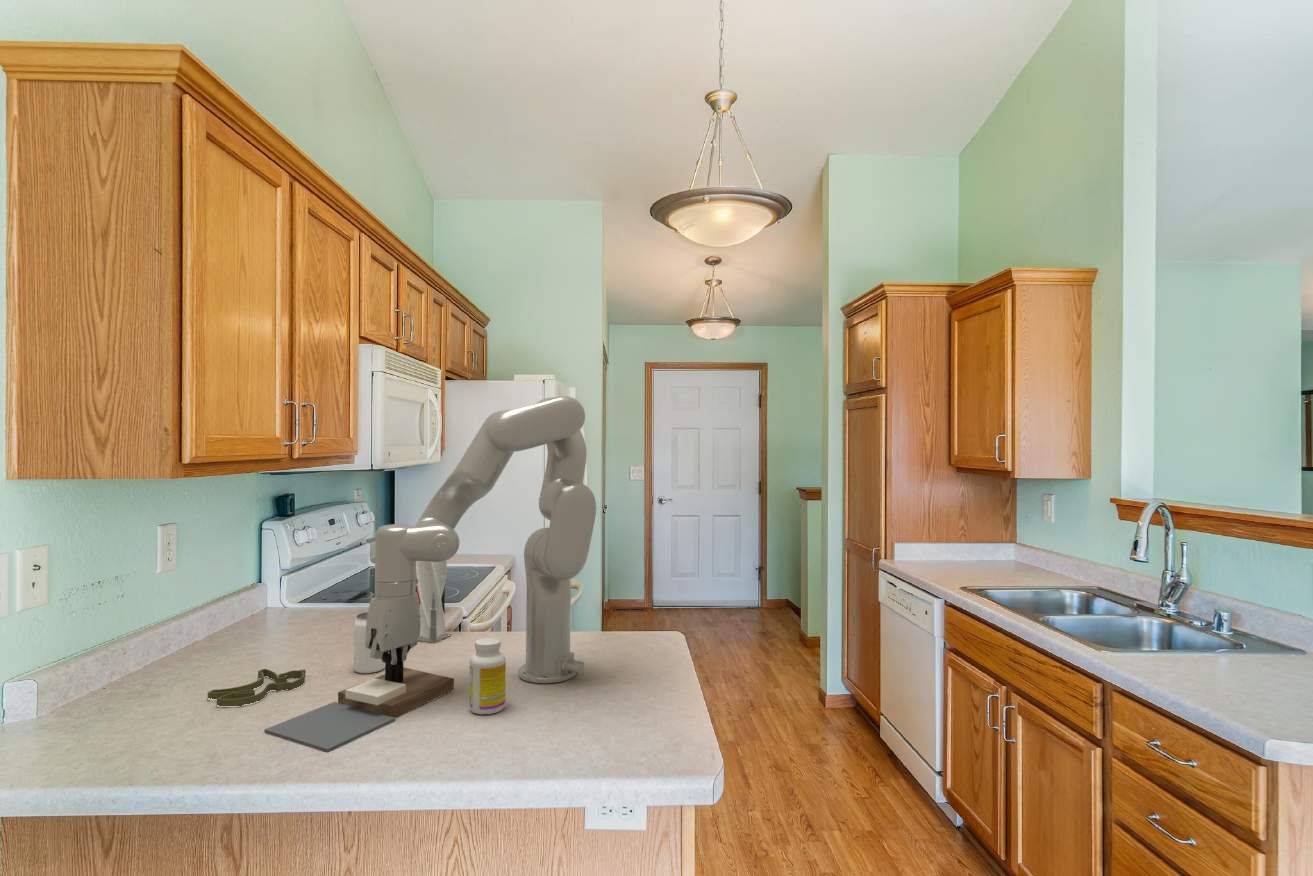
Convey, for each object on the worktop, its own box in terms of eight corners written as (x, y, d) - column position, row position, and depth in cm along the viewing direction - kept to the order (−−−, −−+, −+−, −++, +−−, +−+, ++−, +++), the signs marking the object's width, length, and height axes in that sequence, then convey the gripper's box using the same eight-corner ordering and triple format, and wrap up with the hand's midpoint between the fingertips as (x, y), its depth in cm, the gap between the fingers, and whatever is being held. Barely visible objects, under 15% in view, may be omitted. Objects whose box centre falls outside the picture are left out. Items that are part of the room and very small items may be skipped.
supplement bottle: (512, 706, 131) (513, 639, 131) (487, 718, 125) (488, 648, 125) (486, 699, 134) (487, 634, 134) (461, 711, 129) (462, 642, 129)
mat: (395, 720, 124) (395, 717, 124) (327, 752, 111) (327, 749, 111) (334, 704, 131) (334, 701, 131) (264, 732, 118) (264, 729, 118)
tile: (406, 692, 131) (406, 684, 131) (377, 705, 124) (377, 696, 124) (374, 685, 134) (374, 678, 134) (345, 698, 128) (345, 690, 128)
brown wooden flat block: (453, 690, 139) (453, 678, 139) (391, 719, 124) (391, 705, 124) (403, 679, 145) (403, 667, 145) (338, 705, 130) (338, 692, 130)
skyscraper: (405, 640, 172) (407, 528, 172) (426, 631, 180) (427, 525, 180) (434, 643, 170) (435, 530, 170) (453, 634, 177) (455, 526, 177)
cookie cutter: (270, 674, 148) (270, 665, 148) (317, 680, 145) (317, 670, 145) (195, 706, 130) (196, 696, 130) (248, 713, 127) (248, 702, 127)
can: (374, 675, 147) (374, 619, 147) (347, 673, 148) (347, 617, 148) (391, 665, 153) (392, 612, 153) (365, 663, 154) (366, 610, 154)
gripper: (410, 579, 142) (409, 668, 142) (349, 593, 129) (348, 691, 129) (438, 583, 139) (436, 674, 139) (378, 598, 125) (376, 698, 125)
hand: (394, 682), depth 134 cm, fingers closed
